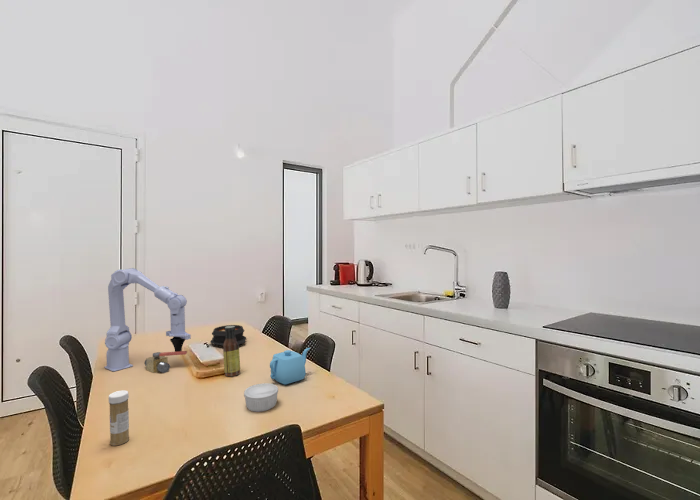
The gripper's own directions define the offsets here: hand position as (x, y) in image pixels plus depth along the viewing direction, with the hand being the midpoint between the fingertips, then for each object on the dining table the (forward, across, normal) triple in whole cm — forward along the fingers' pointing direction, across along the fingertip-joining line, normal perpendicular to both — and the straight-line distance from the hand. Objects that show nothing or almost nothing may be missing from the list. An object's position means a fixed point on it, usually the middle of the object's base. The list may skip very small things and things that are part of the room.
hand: (178, 353), depth 155 cm
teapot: (+6, +54, +11) cm, 56 cm away
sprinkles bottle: (+6, +40, -46) cm, 61 cm away
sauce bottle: (+6, +30, +4) cm, 30 cm away
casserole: (+6, -8, +36) cm, 37 cm away
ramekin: (+6, +60, -12) cm, 61 cm away
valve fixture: (+6, -5, -7) cm, 10 cm away
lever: (0, -1, -4) cm, 4 cm away
